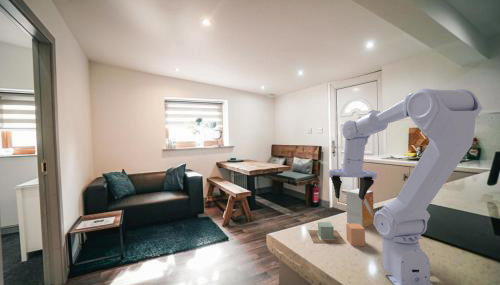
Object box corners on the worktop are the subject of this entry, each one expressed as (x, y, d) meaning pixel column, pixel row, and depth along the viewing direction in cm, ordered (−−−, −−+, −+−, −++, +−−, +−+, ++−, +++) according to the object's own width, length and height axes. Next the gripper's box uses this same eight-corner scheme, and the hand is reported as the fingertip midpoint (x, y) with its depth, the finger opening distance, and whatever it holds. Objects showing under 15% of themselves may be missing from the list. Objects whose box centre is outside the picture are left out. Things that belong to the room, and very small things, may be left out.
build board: (346, 246, 66) (346, 243, 66) (313, 246, 66) (313, 243, 66) (336, 232, 76) (336, 230, 76) (307, 232, 76) (307, 229, 76)
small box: (362, 230, 77) (362, 194, 77) (346, 224, 82) (345, 191, 82) (374, 225, 81) (373, 190, 81) (358, 220, 86) (357, 188, 86)
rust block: (365, 248, 64) (364, 228, 64) (351, 248, 64) (351, 228, 64) (359, 242, 68) (359, 223, 68) (346, 242, 68) (346, 223, 68)
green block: (333, 239, 69) (333, 226, 69) (321, 239, 69) (320, 226, 69) (330, 233, 73) (329, 222, 73) (318, 233, 73) (317, 222, 73)
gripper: (371, 155, 71) (366, 193, 74) (326, 154, 73) (323, 191, 75) (382, 161, 65) (376, 203, 67) (332, 160, 66) (329, 201, 69)
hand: (349, 197), depth 71 cm, fingers open, 7 cm apart
